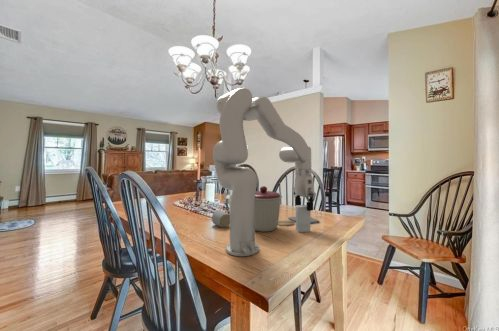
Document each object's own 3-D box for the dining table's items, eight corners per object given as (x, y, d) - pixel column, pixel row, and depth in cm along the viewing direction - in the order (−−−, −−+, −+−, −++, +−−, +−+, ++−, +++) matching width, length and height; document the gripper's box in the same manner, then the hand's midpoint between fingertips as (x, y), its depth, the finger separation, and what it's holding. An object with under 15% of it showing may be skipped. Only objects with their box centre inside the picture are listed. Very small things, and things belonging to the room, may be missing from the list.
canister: (269, 237, 97) (269, 190, 97) (237, 229, 108) (237, 186, 108) (288, 227, 112) (288, 185, 111) (259, 221, 123) (258, 183, 122)
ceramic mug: (220, 229, 109) (220, 214, 109) (211, 225, 115) (211, 211, 115) (237, 225, 116) (237, 210, 116) (228, 222, 122) (228, 208, 122)
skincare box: (307, 229, 109) (307, 204, 109) (310, 232, 104) (310, 206, 104) (295, 229, 108) (295, 204, 108) (298, 232, 104) (298, 207, 103)
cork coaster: (297, 224, 116) (297, 223, 116) (280, 227, 112) (280, 226, 112) (287, 219, 125) (287, 218, 125) (271, 221, 122) (271, 220, 122)
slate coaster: (319, 222, 120) (319, 220, 120) (300, 225, 115) (300, 223, 115) (306, 217, 131) (306, 215, 131) (288, 219, 126) (288, 217, 126)
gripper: (321, 173, 99) (322, 211, 100) (299, 170, 115) (300, 203, 116) (307, 174, 96) (308, 213, 97) (287, 171, 112) (287, 205, 113)
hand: (303, 208), depth 106 cm, fingers open, 9 cm apart
